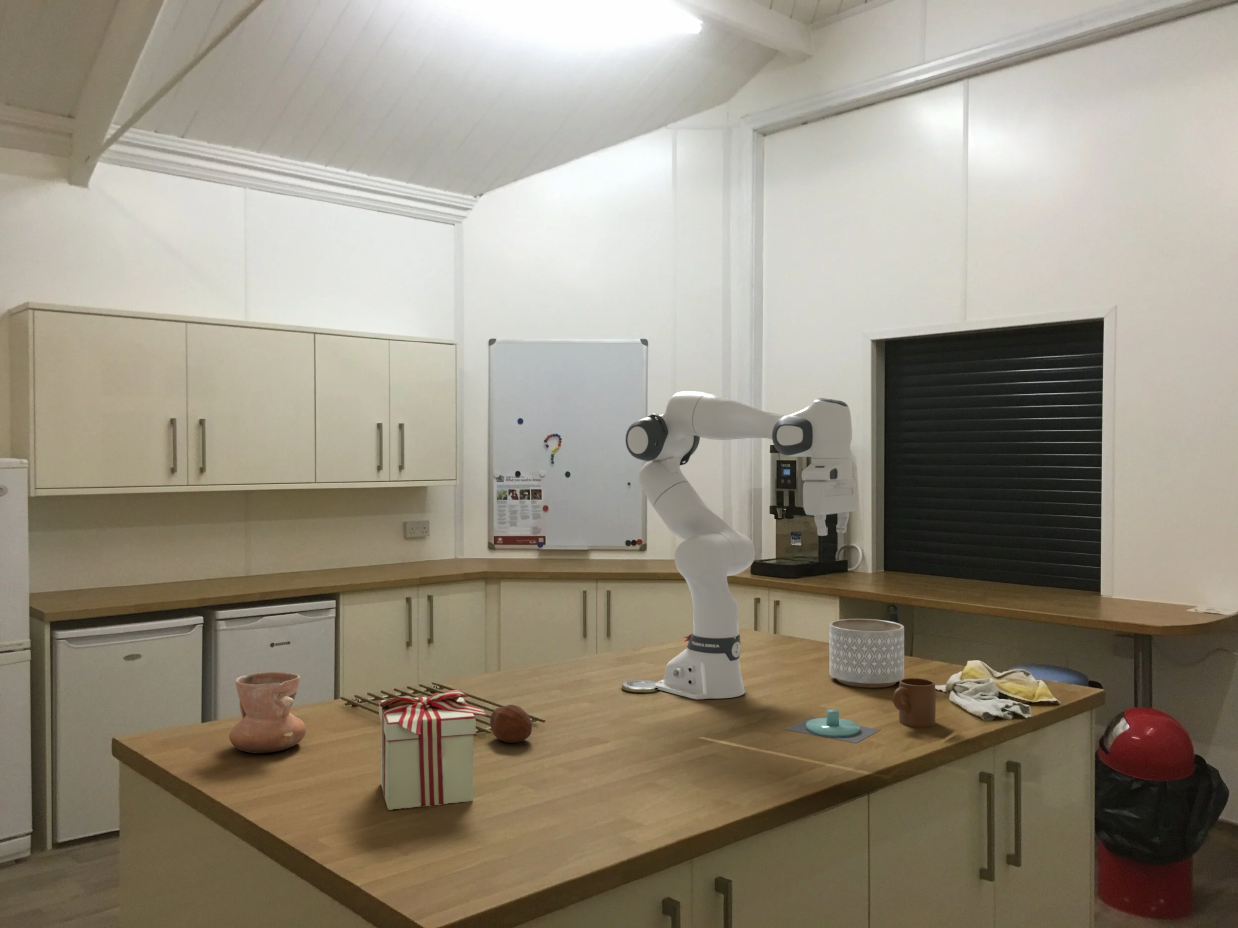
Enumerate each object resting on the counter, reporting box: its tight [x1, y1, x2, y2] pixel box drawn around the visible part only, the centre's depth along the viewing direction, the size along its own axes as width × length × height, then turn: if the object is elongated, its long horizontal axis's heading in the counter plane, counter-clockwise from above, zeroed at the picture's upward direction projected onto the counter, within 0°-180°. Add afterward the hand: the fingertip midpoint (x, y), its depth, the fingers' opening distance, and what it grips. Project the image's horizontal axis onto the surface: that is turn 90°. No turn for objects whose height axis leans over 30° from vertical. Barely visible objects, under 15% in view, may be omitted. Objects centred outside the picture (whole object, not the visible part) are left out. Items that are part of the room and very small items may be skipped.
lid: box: [806, 708, 861, 737], centre depth 209 cm, size 11×11×4 cm
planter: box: [828, 618, 905, 688], centre depth 255 cm, size 19×19×14 cm
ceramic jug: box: [228, 671, 307, 754], centre depth 199 cm, size 18×14×14 cm
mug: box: [892, 677, 937, 728], centre depth 212 cm, size 12×8×9 cm, turn 130°
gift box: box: [378, 689, 487, 811], centre depth 171 cm, size 17×18×17 cm
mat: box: [785, 716, 881, 744], centre depth 209 cm, size 16×12×1 cm
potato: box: [489, 704, 533, 744], centre depth 203 cm, size 8×11×8 cm
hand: (832, 534), depth 220 cm, fingers open, 8 cm apart
